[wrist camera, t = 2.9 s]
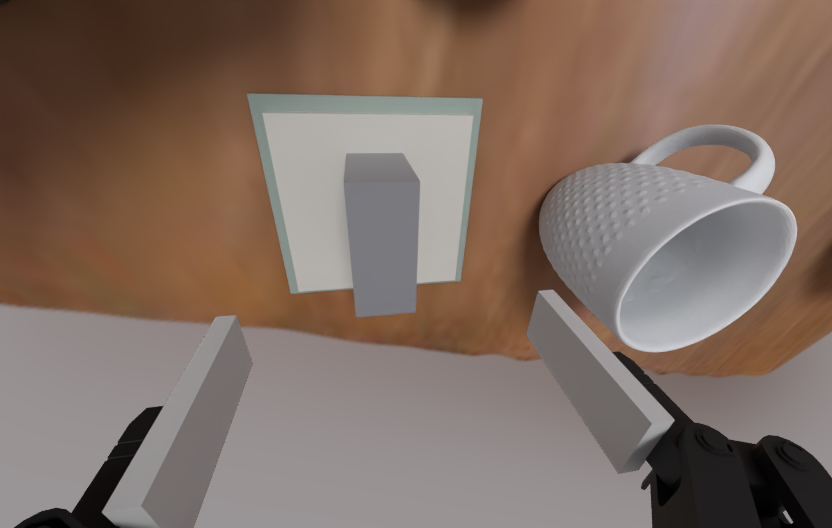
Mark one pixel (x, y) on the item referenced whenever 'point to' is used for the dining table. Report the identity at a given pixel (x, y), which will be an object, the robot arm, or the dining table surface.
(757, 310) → the dining table surface
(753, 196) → the mug
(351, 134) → the lid
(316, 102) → the mat
